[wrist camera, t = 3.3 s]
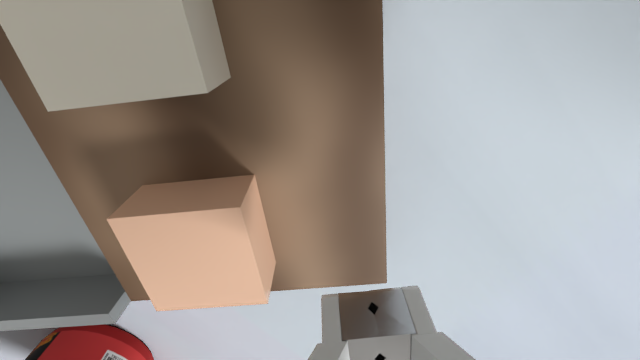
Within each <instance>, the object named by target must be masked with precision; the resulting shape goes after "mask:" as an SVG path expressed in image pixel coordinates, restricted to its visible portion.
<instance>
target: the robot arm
mask: <svg viewBox="0 0 640 360" xmlns="http://www.w3.org/2000/svg"><path fill="white" fill-rule="evenodd" d="M321 306H322V343H320V344H317V345H316V347H315V349H314V350H313V352H312V354H311V355H310V357H309V358H308V360H476V359H474V358H473V357H472V356H471V355H469V354H468V353H467V352H466V351H465V350H463V349H462V348H461V347H460V346H459V345H457V344H456V343H455V342H454V341H452V340H451V339H450V338H449V337H448V336H446V335H445V334H444V333H443V332H437V331H436V329H435V326H434V324H433V321H432V319H431V316H430V314H429V311H428V309H427V306H426V304H425V301H424V299H423V296H422V294H421V291H420V289H419V287H418V286H408V287H401V288H400V287H397V288H388V289H380V290H371V291H365V292H351V293H338V294H328V295H322V299H321Z"/></svg>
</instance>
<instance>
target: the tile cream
mask: <svg viewBox="0 0 640 360" xmlns="http://www.w3.org/2000/svg"><path fill="white" fill-rule="evenodd" d="M0 25H1V26H2V28H3V30H4V32H5V34H6V36H7V37H8V39H9V41H10V43H11V45H12V47H13V48H14V50H15V52H16V54H17V56H18V58H19V59H20V61H21V63H22V65H23V67H24V69H25V70H26V72H27V74H28V76H29V78H30V80H31V81H32V83H33V85H34V87H35V89H36V91H37V92H38V94H39V96H40V98H41V100H42V102H43V104H44V105H45V107H46V109H47V111H48V112H49V111H58V110H66V109H75V108H84V107H92V106H101V105H110V104H118V103H127V102H135V101H144V100H153V99H161V98H170V97H178V96H187V95H196V94H204V93H209V92H210V91H212V90H213V89H215V88H216V87H218V86H219V85H221V84H222V83H224V82H225V81H226V80H228V79H229V78H231V76H230V71H229V67H228V63H227V59H226V55H225V51H224V47H223V43H222V39H221V35H220V30H219V26H218V22H217V18H216V14H215V10H214V6H213V2H212V0H0Z"/></svg>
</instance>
